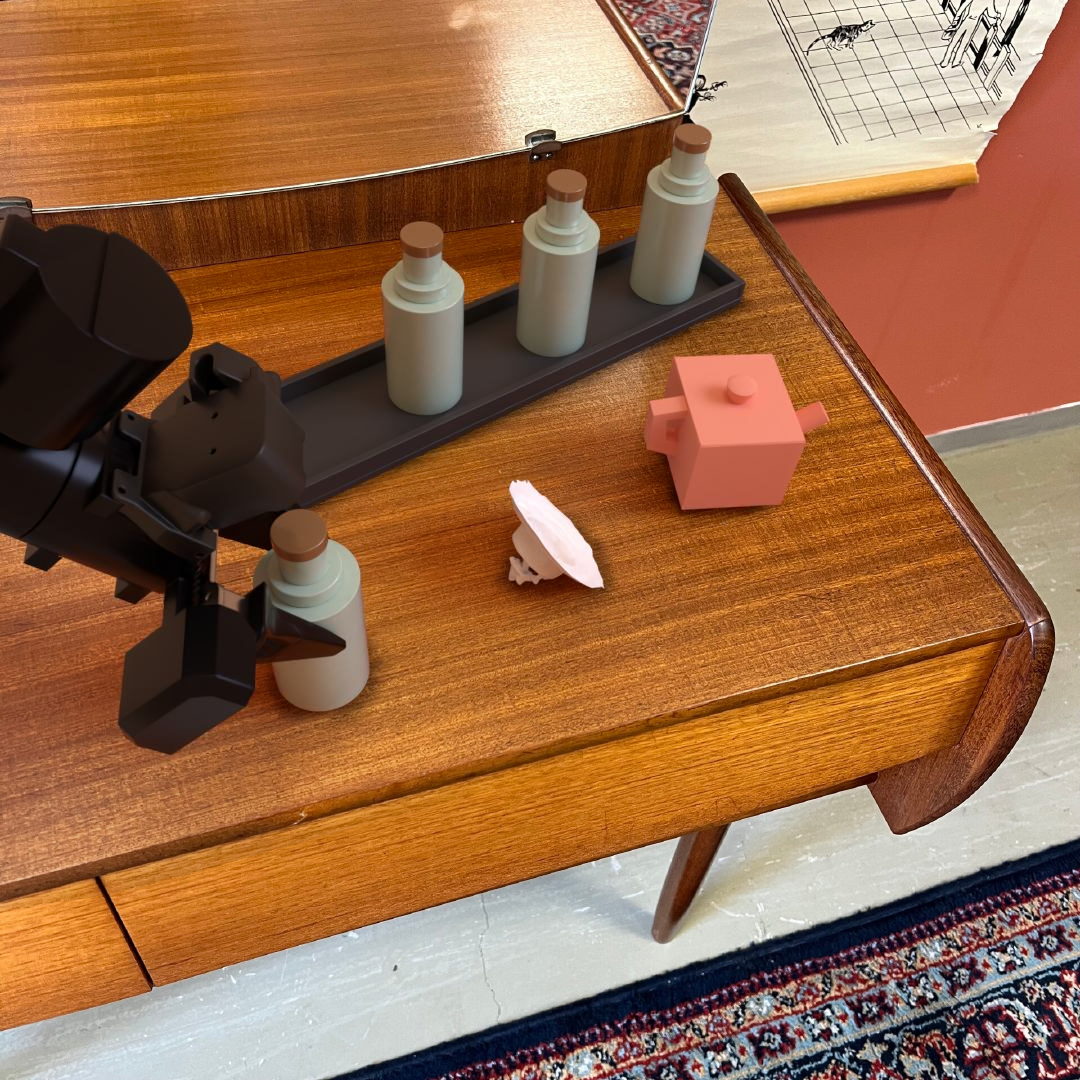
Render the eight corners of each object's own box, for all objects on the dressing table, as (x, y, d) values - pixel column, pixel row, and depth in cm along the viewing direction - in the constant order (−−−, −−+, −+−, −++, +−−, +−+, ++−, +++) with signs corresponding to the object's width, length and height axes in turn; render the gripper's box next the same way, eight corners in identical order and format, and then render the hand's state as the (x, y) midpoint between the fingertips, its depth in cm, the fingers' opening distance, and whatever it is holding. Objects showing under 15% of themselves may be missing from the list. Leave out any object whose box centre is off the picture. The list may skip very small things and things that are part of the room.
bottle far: (632, 304, 78) (659, 152, 68) (626, 261, 81) (652, 110, 71) (698, 306, 78) (736, 156, 68) (690, 264, 81) (725, 114, 71)
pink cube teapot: (823, 511, 67) (864, 425, 61) (647, 521, 66) (669, 433, 59) (791, 426, 72) (825, 337, 65) (625, 433, 70) (644, 343, 64)
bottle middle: (516, 356, 73) (527, 202, 63) (515, 309, 76) (525, 155, 66) (587, 358, 74) (610, 206, 64) (583, 311, 77) (604, 159, 67)
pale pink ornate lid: (522, 590, 66) (470, 484, 63) (597, 558, 66) (548, 450, 63) (530, 646, 59) (472, 529, 56) (614, 610, 58) (559, 490, 55)
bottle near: (385, 414, 69) (374, 259, 59) (390, 362, 72) (380, 206, 62) (461, 417, 69) (464, 263, 59) (463, 364, 72) (466, 210, 62)
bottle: (269, 711, 55) (232, 574, 45) (281, 630, 58) (249, 485, 48) (366, 712, 55) (350, 577, 45) (372, 631, 59) (360, 489, 48)
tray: (255, 534, 63) (250, 513, 61) (190, 442, 67) (183, 420, 65) (740, 303, 80) (746, 281, 78) (664, 241, 84) (669, 219, 82)
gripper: (139, 566, 32) (473, 700, 43) (176, 214, 43) (434, 389, 54) (-36, 708, 37) (302, 796, 48) (37, 359, 48) (298, 494, 59)
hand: (339, 603), depth 52 cm, fingers closed on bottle, 5 cm apart
